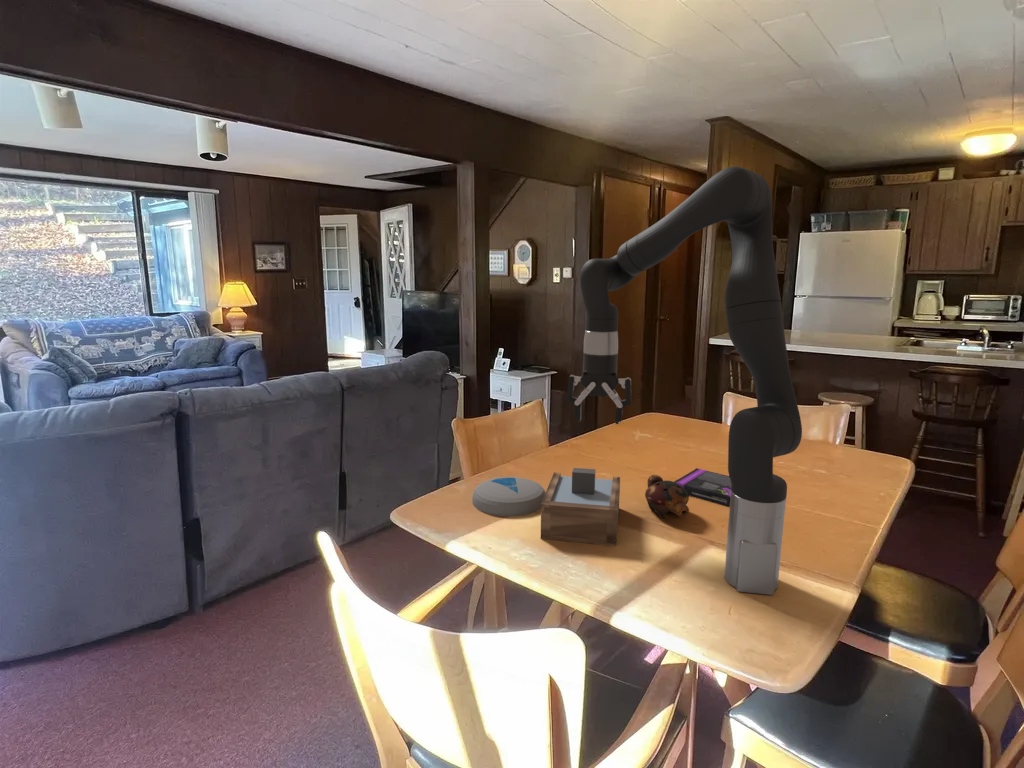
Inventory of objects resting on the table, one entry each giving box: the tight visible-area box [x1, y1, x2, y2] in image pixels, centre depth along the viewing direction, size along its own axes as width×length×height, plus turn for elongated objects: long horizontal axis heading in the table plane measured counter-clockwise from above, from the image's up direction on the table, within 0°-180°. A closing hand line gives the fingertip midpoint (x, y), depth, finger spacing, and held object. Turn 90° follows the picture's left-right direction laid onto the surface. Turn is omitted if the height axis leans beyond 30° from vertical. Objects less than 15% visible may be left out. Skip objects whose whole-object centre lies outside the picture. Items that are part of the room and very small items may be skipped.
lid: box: [551, 467, 613, 506], centre depth 133 cm, size 18×14×6 cm
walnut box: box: [540, 472, 621, 547], centre depth 133 cm, size 20×16×8 cm
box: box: [673, 468, 731, 508], centre depth 151 cm, size 14×4×20 cm
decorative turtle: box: [644, 474, 690, 518], centre depth 138 cm, size 10×15×8 cm, turn 21°
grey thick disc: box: [471, 476, 546, 517], centre depth 146 cm, size 18×18×5 cm
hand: (598, 421), depth 132 cm, fingers open, 8 cm apart
